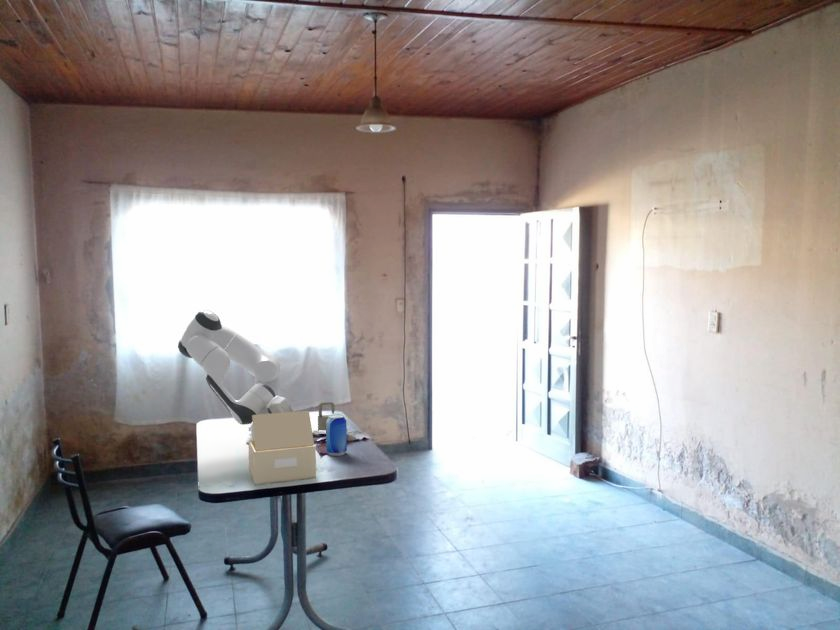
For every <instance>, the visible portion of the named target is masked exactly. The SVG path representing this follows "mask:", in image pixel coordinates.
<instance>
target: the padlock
mask: <svg viewBox="0 0 840 630" xmlns="http://www.w3.org/2000/svg"><path fill="white" fill-rule="evenodd" d="M323 406H331V414H332V415H333V414H335V411H336V410H335V409H336V407H335V402H332V401H322V402H319V404H318V416H317V432H318V431H319V430H326V421H327V419H328V418H329V417H328V416H329V415H330V414H326V415H325V414H324V415H323Z"/></svg>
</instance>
